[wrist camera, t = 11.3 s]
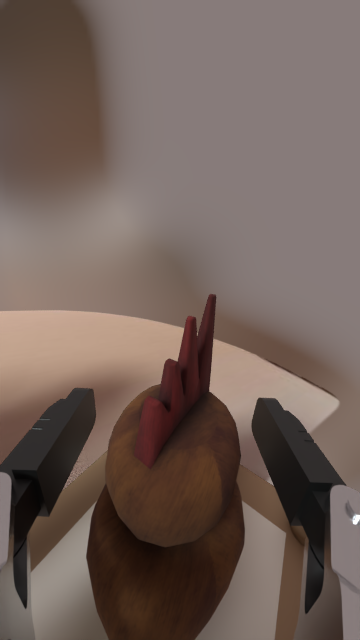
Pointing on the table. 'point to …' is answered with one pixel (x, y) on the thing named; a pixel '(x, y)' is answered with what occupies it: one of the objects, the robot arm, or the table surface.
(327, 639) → the robot arm
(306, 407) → the table surface
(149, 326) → the table surface
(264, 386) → the table surface
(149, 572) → the wooden figurine
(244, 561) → the base plate
